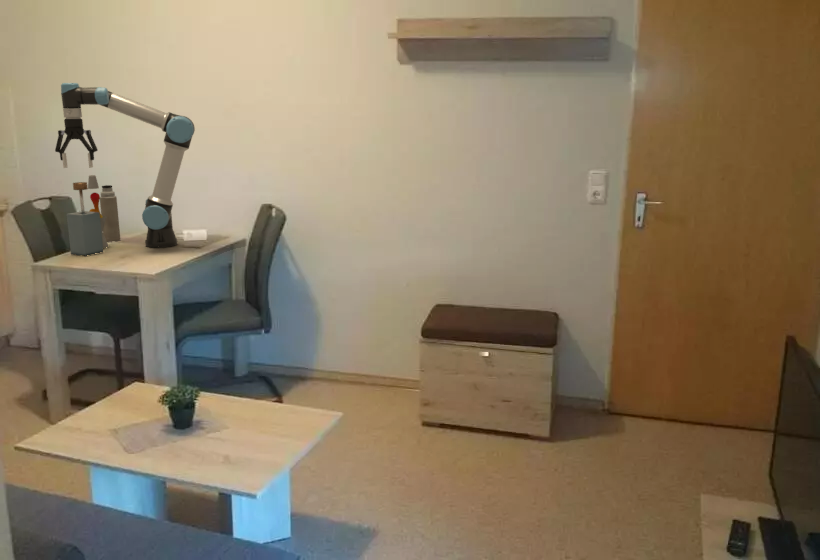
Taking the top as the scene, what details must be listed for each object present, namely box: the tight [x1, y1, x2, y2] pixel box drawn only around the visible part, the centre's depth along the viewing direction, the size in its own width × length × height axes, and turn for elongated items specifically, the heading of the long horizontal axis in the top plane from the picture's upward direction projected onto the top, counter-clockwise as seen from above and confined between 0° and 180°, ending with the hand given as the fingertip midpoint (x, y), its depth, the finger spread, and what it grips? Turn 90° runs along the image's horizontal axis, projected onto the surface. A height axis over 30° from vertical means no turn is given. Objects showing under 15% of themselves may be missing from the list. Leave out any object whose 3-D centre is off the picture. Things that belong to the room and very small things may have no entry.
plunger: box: [72, 181, 89, 214], centre depth 355 cm, size 8×8×22 cm
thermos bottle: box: [99, 184, 121, 243], centre depth 390 cm, size 8×8×28 cm
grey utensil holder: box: [66, 210, 104, 257], centre depth 358 cm, size 10×10×19 cm
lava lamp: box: [87, 174, 109, 249], centre depth 371 cm, size 9×9×35 cm
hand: (78, 167), depth 351 cm, fingers open, 11 cm apart
